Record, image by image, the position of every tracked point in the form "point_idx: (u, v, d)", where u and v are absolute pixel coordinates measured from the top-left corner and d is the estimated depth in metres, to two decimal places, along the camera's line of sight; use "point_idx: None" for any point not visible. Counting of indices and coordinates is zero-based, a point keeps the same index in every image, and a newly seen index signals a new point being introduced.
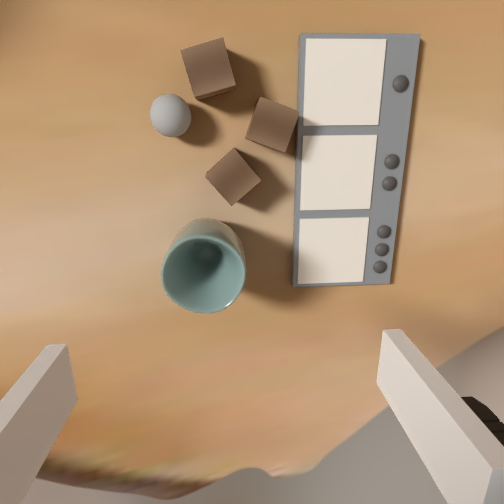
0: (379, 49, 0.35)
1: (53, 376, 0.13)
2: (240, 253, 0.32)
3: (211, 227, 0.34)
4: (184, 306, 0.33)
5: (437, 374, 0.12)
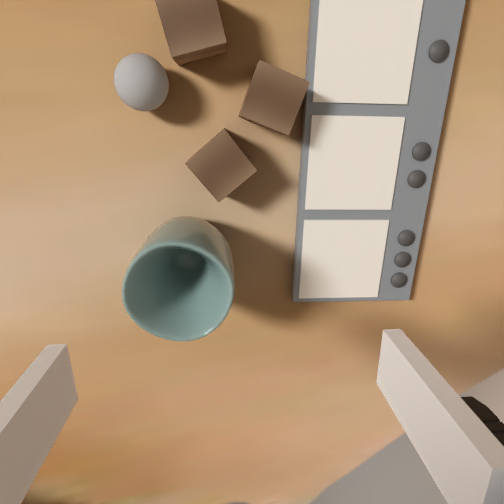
0: (414, 4, 0.27)
1: (54, 376, 0.13)
2: (227, 266, 0.25)
3: (190, 230, 0.26)
4: (153, 332, 0.26)
5: (437, 374, 0.12)
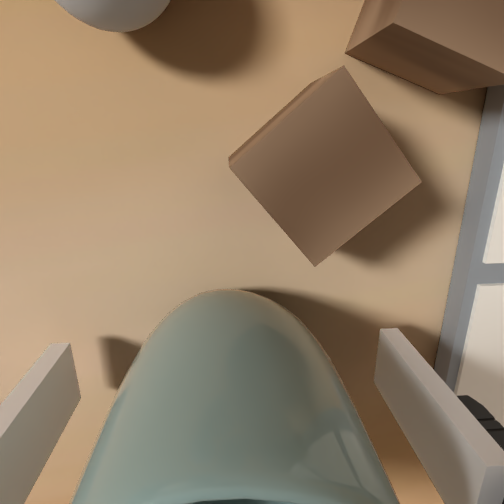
0: None
1: (57, 374, 0.13)
2: None
3: (260, 374, 0.08)
4: None
5: (433, 372, 0.12)
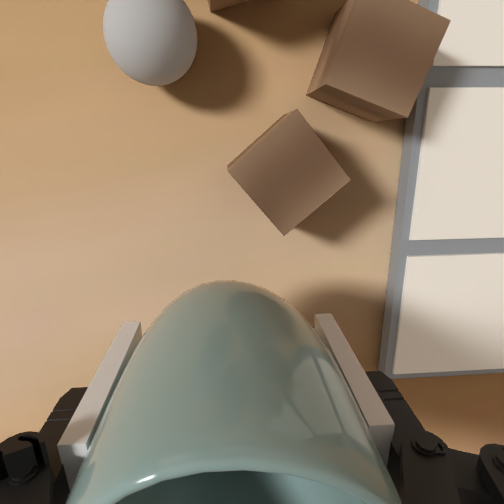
0: None
1: (134, 348, 0.15)
2: (399, 502, 0.07)
3: (259, 358, 0.09)
4: None
5: (351, 351, 0.14)
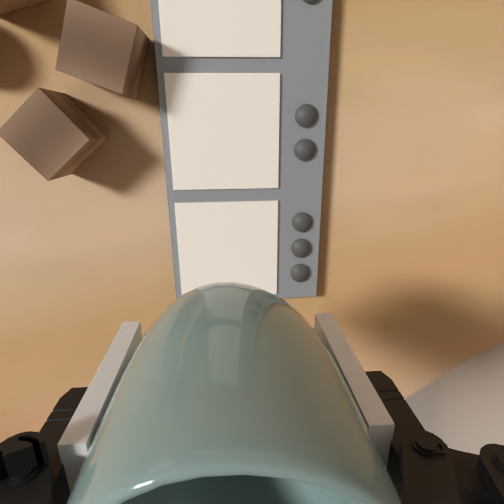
0: None
1: (134, 348, 0.15)
2: None
3: (259, 361, 0.09)
4: None
5: (351, 351, 0.14)
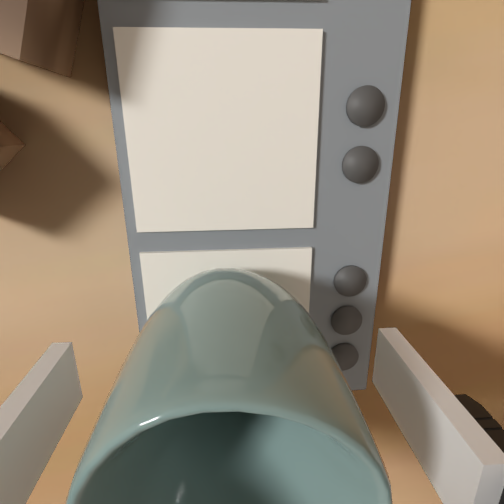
0: None
1: (59, 374, 0.13)
2: (375, 449, 0.08)
3: (254, 328, 0.10)
4: None
5: (431, 372, 0.12)
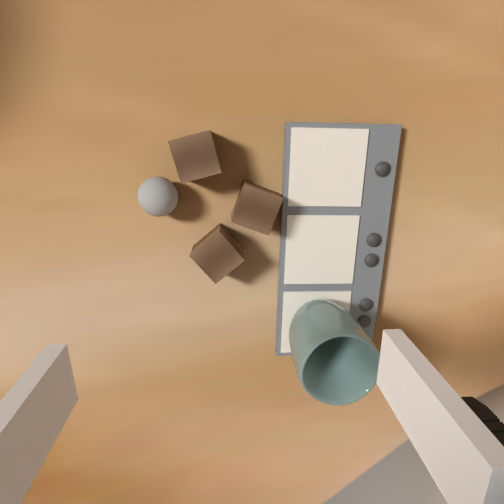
0: (362, 138, 0.37)
1: (54, 376, 0.13)
2: (377, 349, 0.33)
3: (343, 319, 0.35)
4: (318, 398, 0.34)
5: (437, 374, 0.12)
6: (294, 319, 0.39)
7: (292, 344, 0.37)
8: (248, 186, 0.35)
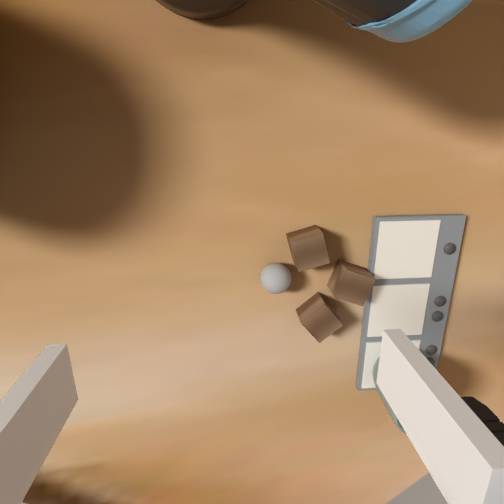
0: (435, 227, 0.46)
1: (54, 376, 0.13)
2: None
3: None
4: None
5: (437, 374, 0.12)
6: None
7: None
8: (349, 271, 0.45)
